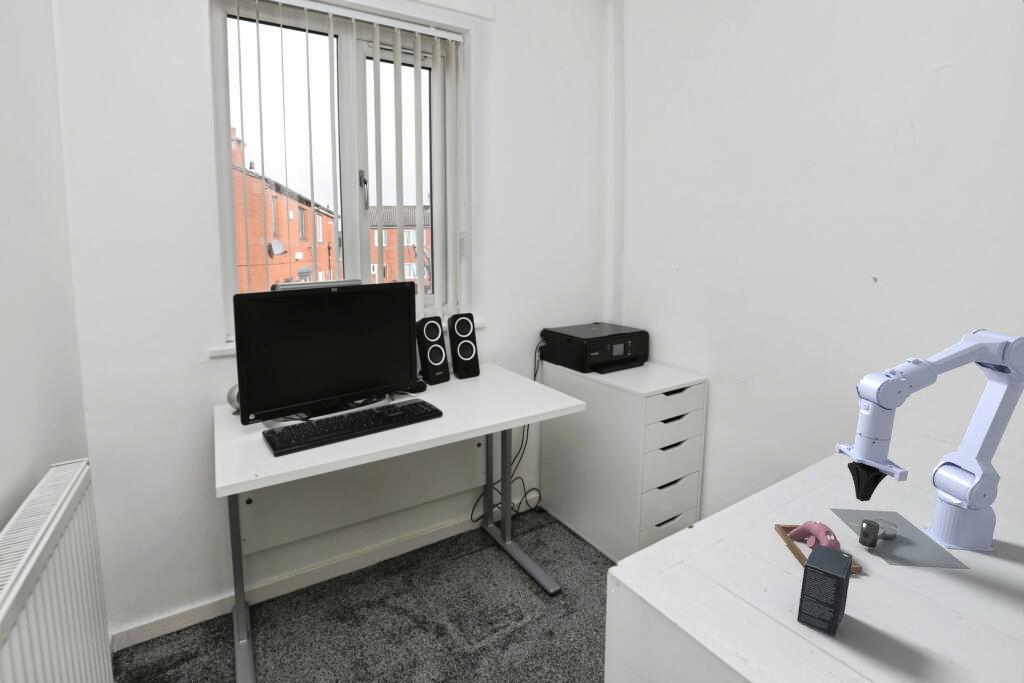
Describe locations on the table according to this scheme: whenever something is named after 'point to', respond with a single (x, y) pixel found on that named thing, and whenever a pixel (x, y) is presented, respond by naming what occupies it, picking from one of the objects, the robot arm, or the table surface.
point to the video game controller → (815, 535)
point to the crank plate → (902, 541)
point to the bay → (795, 550)
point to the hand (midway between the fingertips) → (862, 499)
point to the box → (824, 589)
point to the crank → (876, 532)
